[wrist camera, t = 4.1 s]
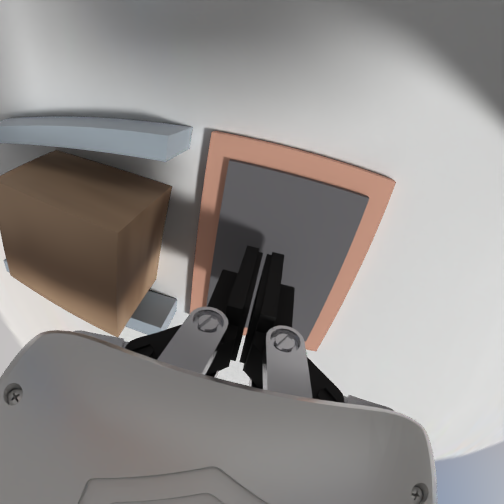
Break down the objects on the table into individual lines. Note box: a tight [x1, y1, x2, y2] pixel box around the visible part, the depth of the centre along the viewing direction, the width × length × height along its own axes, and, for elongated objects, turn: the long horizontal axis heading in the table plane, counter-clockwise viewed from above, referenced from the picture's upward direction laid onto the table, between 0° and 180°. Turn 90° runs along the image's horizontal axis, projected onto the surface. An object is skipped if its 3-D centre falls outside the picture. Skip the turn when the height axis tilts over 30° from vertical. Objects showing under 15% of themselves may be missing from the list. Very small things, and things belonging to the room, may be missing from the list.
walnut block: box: [0, 150, 172, 337], centre depth 13 cm, size 6×8×5 cm
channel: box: [0, 116, 193, 335], centre depth 14 cm, size 11×14×2 cm
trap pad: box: [190, 131, 396, 351], centre depth 14 cm, size 11×8×1 cm
